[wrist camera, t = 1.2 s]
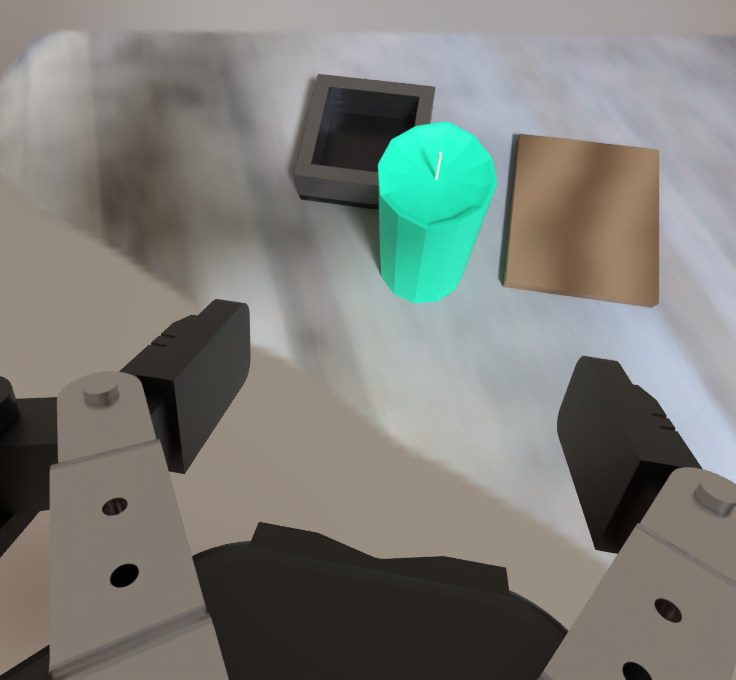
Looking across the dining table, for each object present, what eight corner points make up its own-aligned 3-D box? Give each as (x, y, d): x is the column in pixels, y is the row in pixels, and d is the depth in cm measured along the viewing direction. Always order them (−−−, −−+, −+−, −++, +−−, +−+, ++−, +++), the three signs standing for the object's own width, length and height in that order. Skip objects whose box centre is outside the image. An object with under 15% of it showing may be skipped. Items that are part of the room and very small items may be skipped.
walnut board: (653, 157, 36) (659, 150, 35) (652, 307, 32) (658, 303, 32) (517, 141, 36) (520, 133, 36) (502, 286, 33) (505, 282, 32)
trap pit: (431, 117, 37) (435, 86, 34) (416, 214, 35) (418, 190, 32) (323, 104, 38) (318, 74, 35) (301, 199, 36) (293, 174, 33)
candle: (388, 219, 35) (389, 92, 23) (470, 233, 34) (513, 109, 23) (371, 295, 33) (364, 198, 22) (457, 310, 33) (496, 219, 21)
